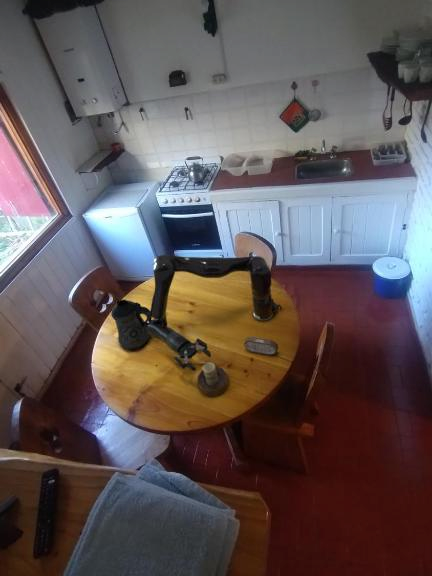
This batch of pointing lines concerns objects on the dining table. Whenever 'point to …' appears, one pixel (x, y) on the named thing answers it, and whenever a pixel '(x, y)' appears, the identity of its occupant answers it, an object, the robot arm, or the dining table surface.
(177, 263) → the robot arm
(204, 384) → the stand
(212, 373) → the disc stack
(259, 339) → the tin
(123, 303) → the beer stein
